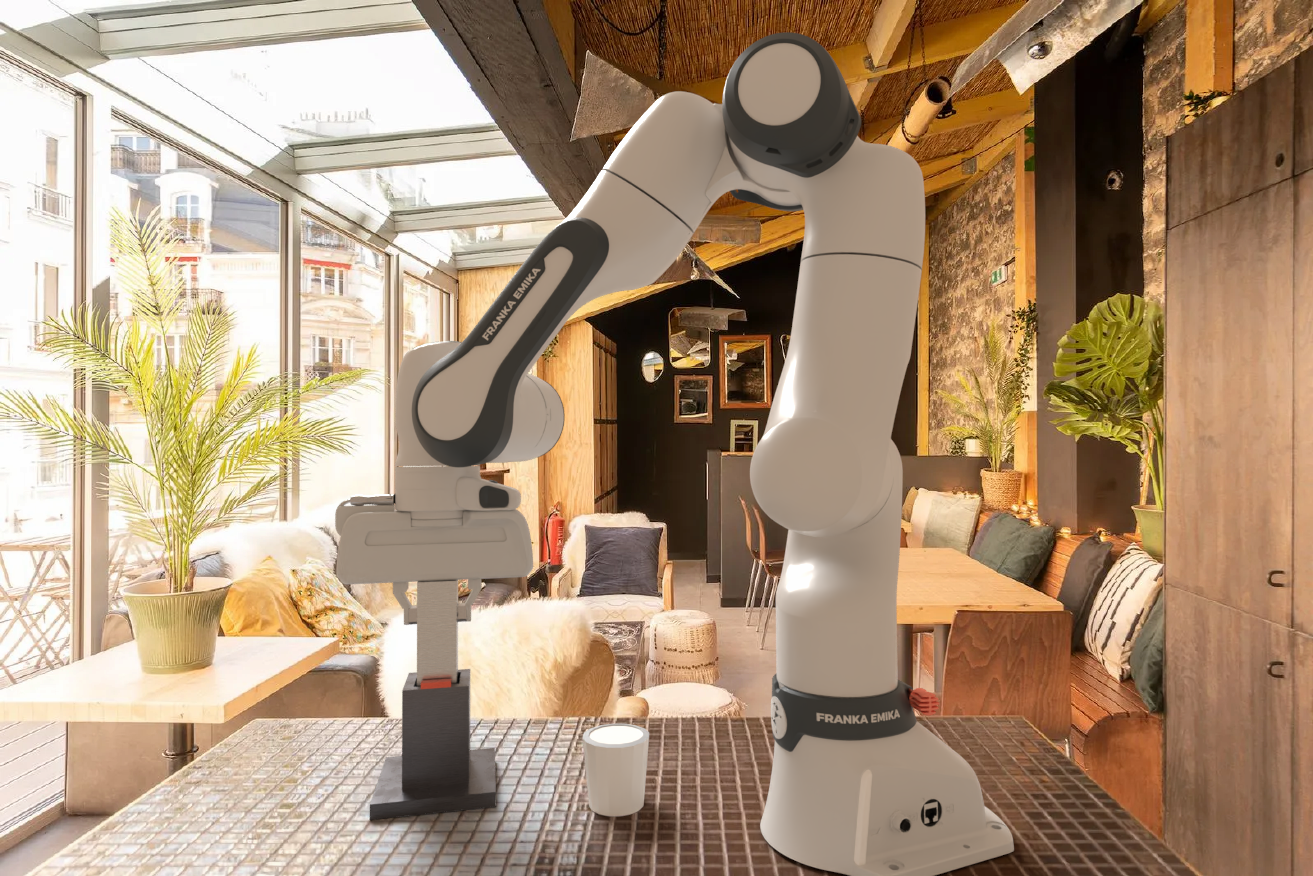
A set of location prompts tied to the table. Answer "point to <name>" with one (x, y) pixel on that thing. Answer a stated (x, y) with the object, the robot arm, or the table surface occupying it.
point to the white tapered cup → (616, 768)
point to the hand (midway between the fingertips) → (438, 622)
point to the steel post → (437, 630)
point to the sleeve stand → (435, 755)
